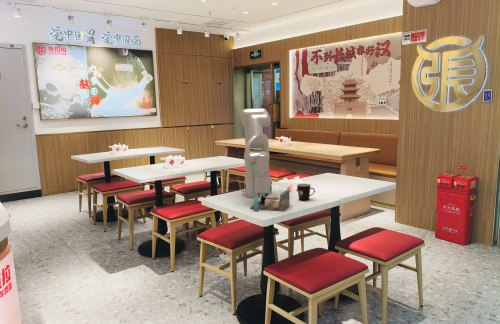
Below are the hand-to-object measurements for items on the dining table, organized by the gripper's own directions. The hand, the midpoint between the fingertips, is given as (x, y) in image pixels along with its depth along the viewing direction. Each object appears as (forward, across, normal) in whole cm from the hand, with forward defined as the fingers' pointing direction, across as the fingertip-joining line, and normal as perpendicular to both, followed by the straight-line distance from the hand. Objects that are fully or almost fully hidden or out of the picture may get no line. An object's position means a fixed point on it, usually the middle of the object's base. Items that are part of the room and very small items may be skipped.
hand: (263, 203), depth 233 cm
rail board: (+2, +4, 0) cm, 5 cm away
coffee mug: (+2, +20, +22) cm, 30 cm away
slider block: (+1, +7, 0) cm, 7 cm away
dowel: (+2, -1, -9) cm, 9 cm away
